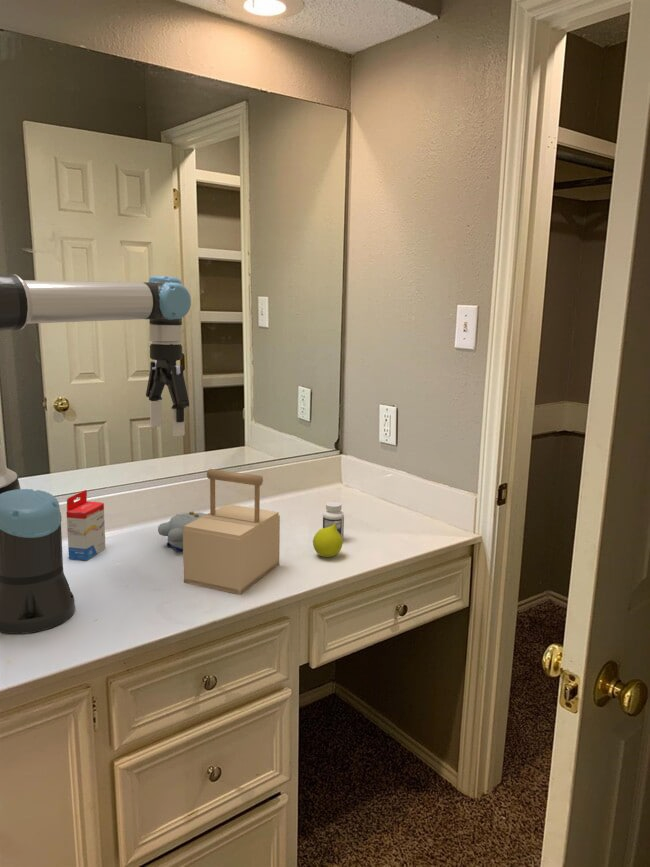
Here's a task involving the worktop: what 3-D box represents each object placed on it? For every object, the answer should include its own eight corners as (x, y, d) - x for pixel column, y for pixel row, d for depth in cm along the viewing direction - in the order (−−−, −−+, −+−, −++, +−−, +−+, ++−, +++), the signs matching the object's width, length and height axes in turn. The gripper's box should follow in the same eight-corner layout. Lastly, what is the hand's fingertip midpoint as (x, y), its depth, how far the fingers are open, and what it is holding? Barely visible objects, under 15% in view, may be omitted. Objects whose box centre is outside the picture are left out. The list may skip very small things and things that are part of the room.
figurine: (179, 561, 152) (251, 552, 165) (182, 526, 151) (254, 519, 164) (147, 540, 165) (216, 533, 178) (149, 507, 164) (218, 502, 177)
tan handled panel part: (227, 507, 155) (226, 461, 153) (278, 515, 150) (279, 468, 148) (205, 518, 147) (205, 469, 145) (259, 527, 142) (259, 477, 140)
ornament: (347, 559, 157) (348, 519, 155) (320, 563, 154) (321, 523, 152) (333, 549, 163) (334, 510, 161) (307, 553, 160) (308, 514, 158)
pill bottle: (328, 535, 173) (329, 499, 171) (346, 539, 171) (347, 503, 169) (318, 541, 169) (319, 504, 167) (337, 545, 166) (338, 508, 164)
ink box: (87, 561, 152) (84, 500, 149) (67, 559, 153) (64, 498, 150) (106, 548, 160) (104, 490, 157) (88, 546, 161) (85, 488, 158)
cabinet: (240, 594, 136) (240, 535, 134) (183, 582, 141) (182, 525, 139) (279, 564, 152) (279, 511, 150) (227, 554, 158) (227, 503, 155)
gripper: (203, 346, 148) (203, 438, 152) (160, 340, 168) (161, 422, 172) (172, 346, 144) (173, 441, 147) (131, 340, 163) (133, 424, 167)
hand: (166, 431), depth 159 cm, fingers open, 13 cm apart
